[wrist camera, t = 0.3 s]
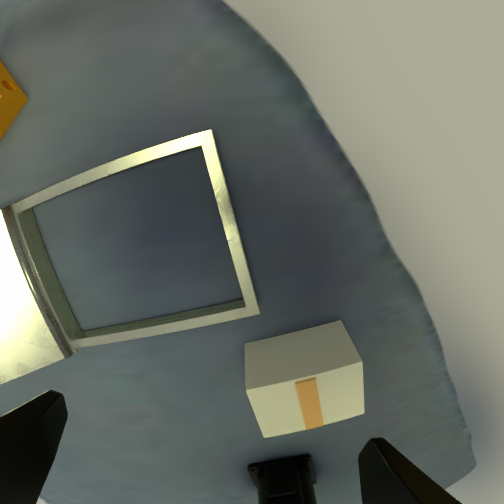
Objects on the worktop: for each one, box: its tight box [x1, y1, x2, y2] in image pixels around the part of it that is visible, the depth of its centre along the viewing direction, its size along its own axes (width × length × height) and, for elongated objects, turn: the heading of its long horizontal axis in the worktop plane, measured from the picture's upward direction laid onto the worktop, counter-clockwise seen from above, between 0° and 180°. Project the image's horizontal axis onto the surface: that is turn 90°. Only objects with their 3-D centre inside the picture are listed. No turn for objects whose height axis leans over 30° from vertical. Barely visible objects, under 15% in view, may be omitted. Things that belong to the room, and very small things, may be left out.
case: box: [0, 130, 260, 384], centre depth 16 cm, size 11×27×9 cm, turn 104°
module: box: [244, 320, 364, 438], centre depth 20 cm, size 5×7×5 cm
